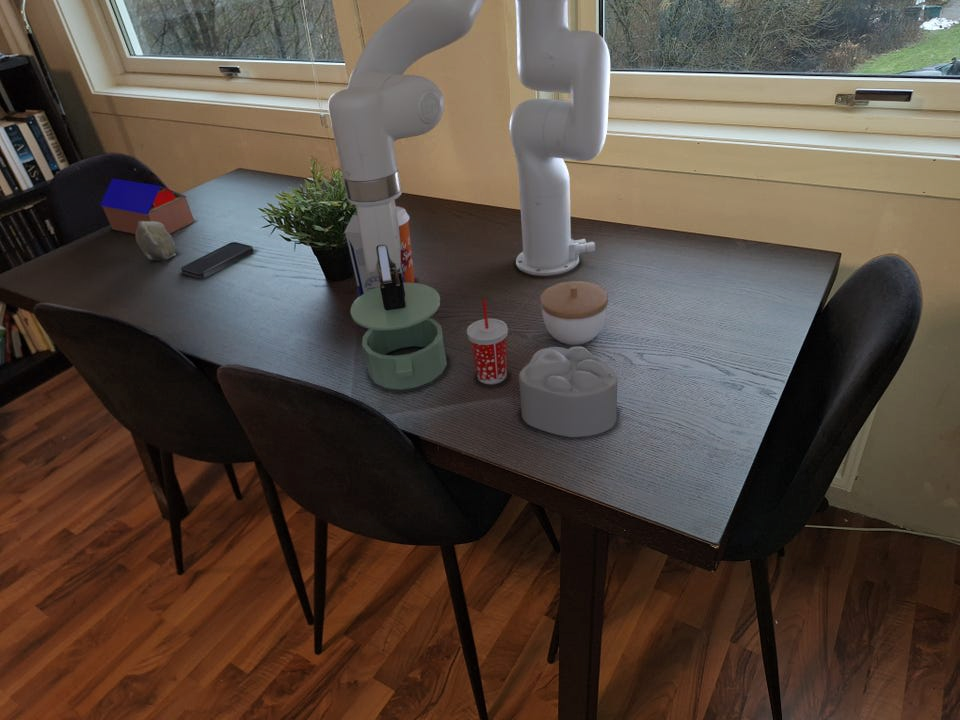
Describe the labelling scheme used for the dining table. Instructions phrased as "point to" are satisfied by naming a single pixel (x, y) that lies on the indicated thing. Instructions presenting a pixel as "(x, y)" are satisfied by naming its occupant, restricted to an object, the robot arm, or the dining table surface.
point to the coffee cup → (405, 245)
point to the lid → (417, 309)
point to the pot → (409, 366)
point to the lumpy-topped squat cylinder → (568, 392)
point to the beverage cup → (489, 348)
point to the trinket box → (574, 311)
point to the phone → (217, 260)
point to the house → (144, 206)
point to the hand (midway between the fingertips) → (395, 302)
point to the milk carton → (361, 259)
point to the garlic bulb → (155, 240)
